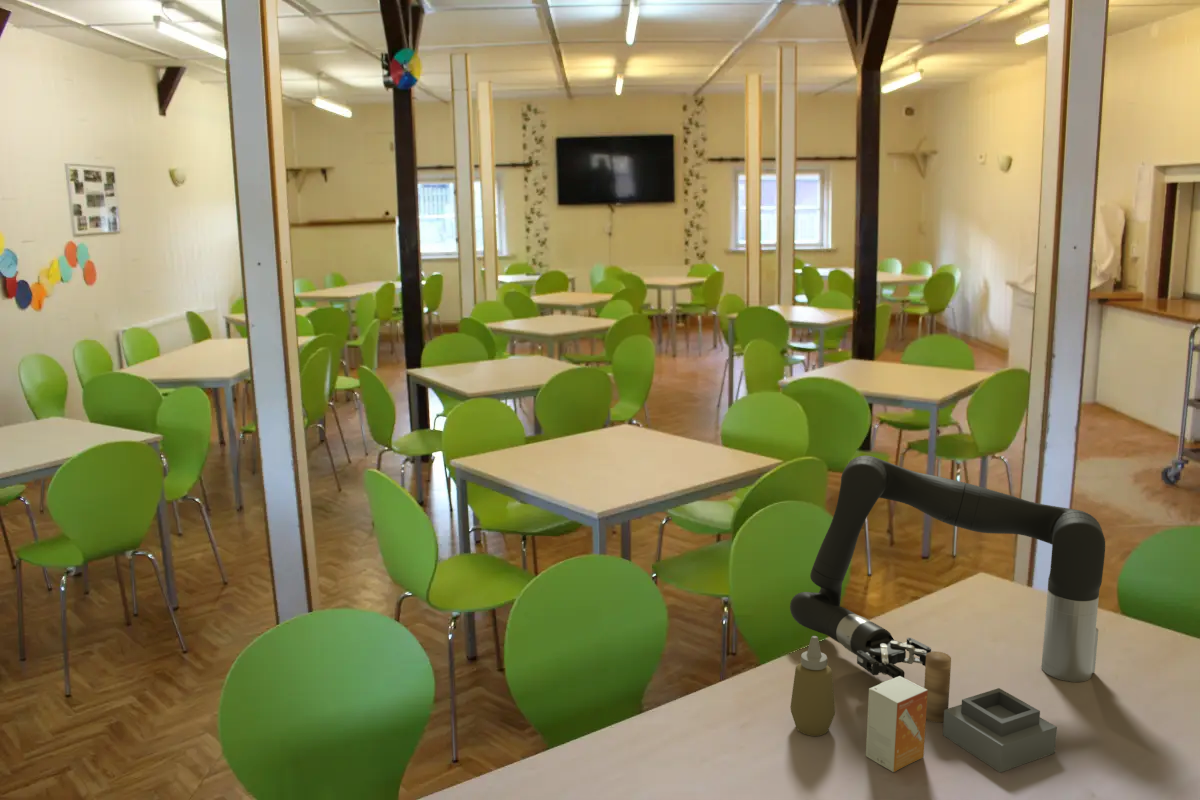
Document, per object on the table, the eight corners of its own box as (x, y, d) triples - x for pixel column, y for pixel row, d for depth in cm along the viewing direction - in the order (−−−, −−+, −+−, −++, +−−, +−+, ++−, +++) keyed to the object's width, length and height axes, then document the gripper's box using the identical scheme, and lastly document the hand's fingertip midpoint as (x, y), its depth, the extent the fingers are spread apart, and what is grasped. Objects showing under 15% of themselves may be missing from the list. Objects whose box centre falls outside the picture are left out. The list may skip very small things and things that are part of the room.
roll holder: (995, 717, 178) (998, 680, 177) (1054, 752, 167) (1058, 713, 165) (942, 735, 173) (945, 697, 171) (1000, 772, 161) (1002, 732, 160)
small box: (893, 773, 162) (897, 703, 159) (864, 756, 167) (867, 687, 164) (925, 758, 166) (928, 689, 163) (895, 741, 171) (898, 674, 169)
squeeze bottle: (836, 720, 178) (839, 630, 175) (832, 743, 171) (835, 650, 167) (793, 713, 181) (795, 625, 177) (786, 736, 174) (788, 644, 170)
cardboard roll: (935, 708, 182) (938, 649, 180) (952, 718, 178) (956, 659, 176) (917, 713, 180) (920, 654, 178) (934, 724, 176) (938, 664, 174)
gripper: (836, 628, 192) (892, 661, 178) (891, 614, 198) (950, 645, 184) (835, 662, 194) (890, 698, 180) (890, 647, 200) (948, 681, 185)
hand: (920, 671), depth 182 cm, fingers open, 8 cm apart
